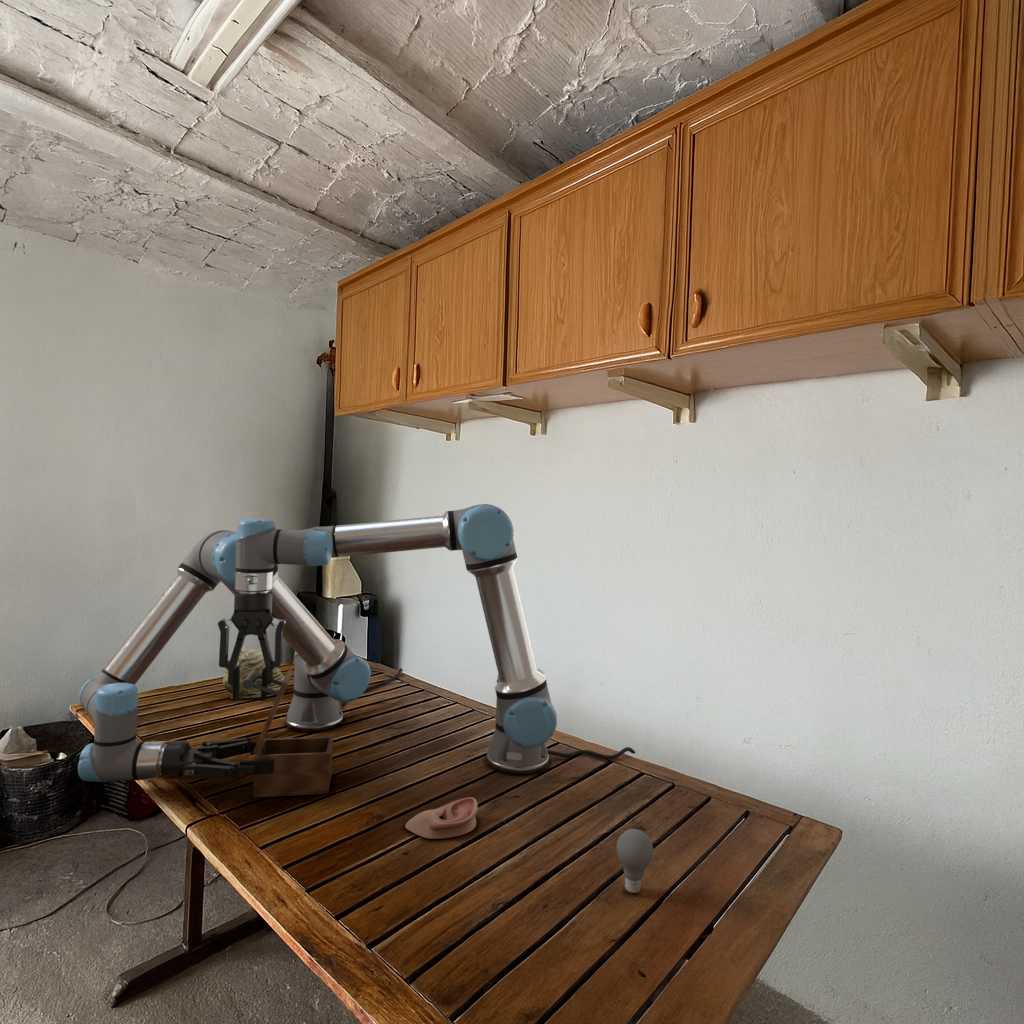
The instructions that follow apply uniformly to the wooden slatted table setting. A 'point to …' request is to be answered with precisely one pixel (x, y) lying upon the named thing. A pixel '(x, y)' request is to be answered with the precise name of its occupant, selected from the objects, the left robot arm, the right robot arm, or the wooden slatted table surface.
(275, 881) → the wooden slatted table surface
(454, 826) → the anatomical model
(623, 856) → the light bulb
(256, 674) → the lid
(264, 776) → the chest
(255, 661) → the fossil
